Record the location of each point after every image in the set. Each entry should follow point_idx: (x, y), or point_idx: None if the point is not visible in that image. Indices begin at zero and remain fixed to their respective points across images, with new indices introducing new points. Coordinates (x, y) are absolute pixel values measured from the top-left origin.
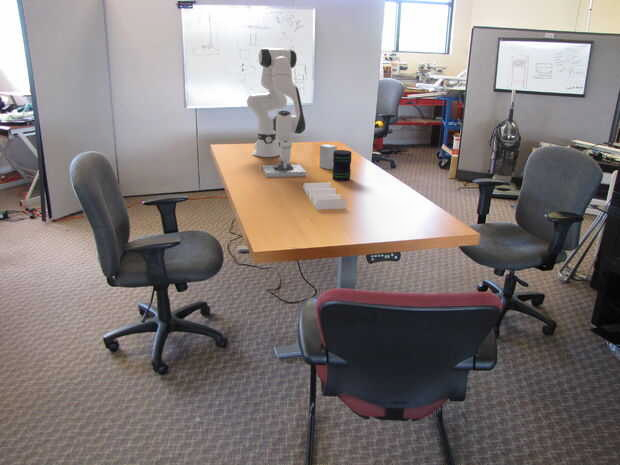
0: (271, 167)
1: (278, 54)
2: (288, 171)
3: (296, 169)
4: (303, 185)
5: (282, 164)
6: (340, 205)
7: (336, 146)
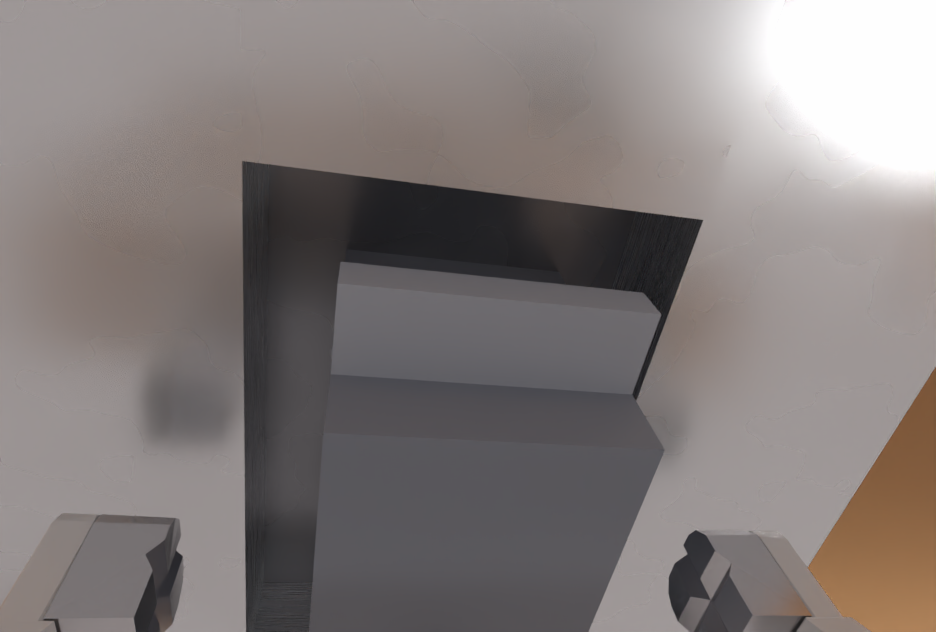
0: (723, 153)
1: None
2: (6, 539)
3: None
4: None
5: (315, 583)
6: None
7: None
